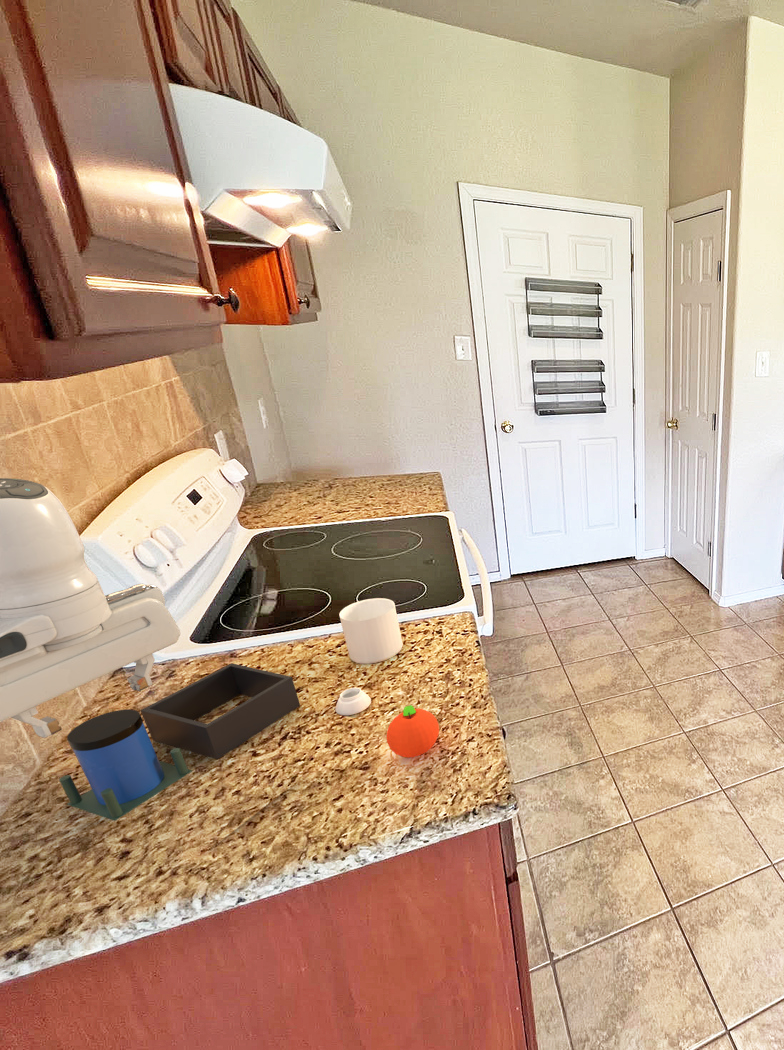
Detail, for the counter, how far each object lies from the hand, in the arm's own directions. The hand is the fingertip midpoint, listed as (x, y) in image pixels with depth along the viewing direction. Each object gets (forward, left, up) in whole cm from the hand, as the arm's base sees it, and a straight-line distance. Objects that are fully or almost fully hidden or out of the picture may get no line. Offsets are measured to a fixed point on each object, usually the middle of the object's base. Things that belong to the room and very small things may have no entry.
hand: (99, 709), depth 73 cm
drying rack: (0, 0, -14) cm, 14 cm away
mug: (+2, +39, -14) cm, 41 cm away
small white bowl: (+13, +23, -14) cm, 30 cm away
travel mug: (0, 0, -13) cm, 13 cm away
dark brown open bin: (-1, +13, -14) cm, 19 cm away
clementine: (+30, +18, -14) cm, 37 cm away
